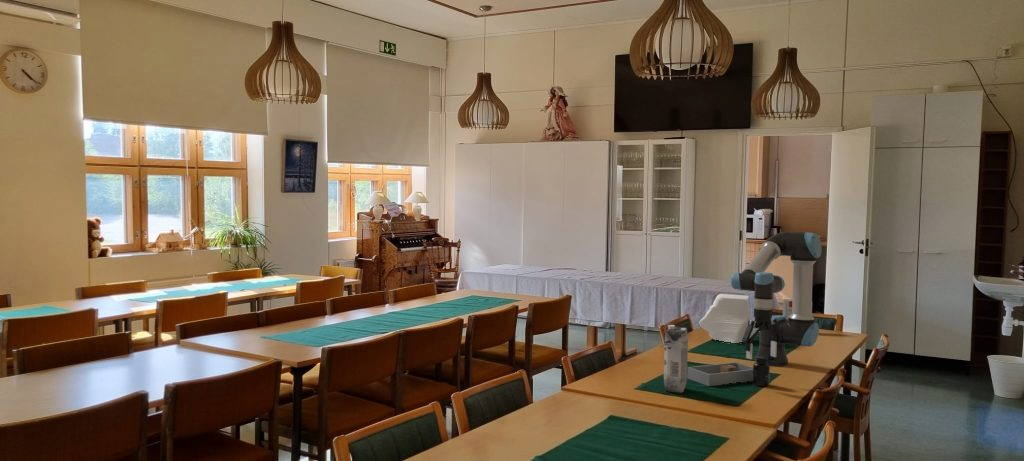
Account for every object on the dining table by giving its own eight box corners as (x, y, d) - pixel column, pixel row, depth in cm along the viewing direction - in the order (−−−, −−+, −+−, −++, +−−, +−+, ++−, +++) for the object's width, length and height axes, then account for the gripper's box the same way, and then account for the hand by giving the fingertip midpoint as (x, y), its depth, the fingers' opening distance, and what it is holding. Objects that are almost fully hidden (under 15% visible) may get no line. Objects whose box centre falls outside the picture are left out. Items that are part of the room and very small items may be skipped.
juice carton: (687, 387, 305) (688, 324, 304) (684, 394, 295) (686, 328, 294) (665, 385, 308) (667, 323, 307) (662, 391, 298) (664, 327, 297)
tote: (735, 372, 333) (736, 362, 333) (758, 380, 319) (759, 369, 319) (687, 378, 321) (687, 367, 321) (708, 386, 308) (709, 374, 308)
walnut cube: (728, 375, 325) (729, 364, 325) (736, 378, 320) (736, 367, 320) (720, 376, 323) (720, 365, 323) (727, 379, 318) (728, 368, 318)
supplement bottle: (770, 387, 308) (771, 359, 307) (753, 386, 309) (754, 358, 308) (768, 383, 314) (768, 356, 314) (751, 382, 316) (752, 355, 315)
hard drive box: (784, 333, 435) (785, 300, 434) (781, 331, 442) (782, 298, 442) (811, 334, 432) (812, 301, 431) (808, 332, 440) (809, 299, 439)
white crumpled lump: (744, 345, 395) (746, 299, 394) (697, 339, 411) (698, 295, 410) (756, 340, 412) (757, 295, 411) (710, 334, 428) (711, 291, 427)
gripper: (778, 306, 319) (776, 353, 319) (734, 308, 308) (732, 357, 309) (791, 308, 312) (789, 357, 313) (746, 310, 302) (745, 361, 302)
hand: (761, 357), depth 311 cm, fingers open, 13 cm apart
